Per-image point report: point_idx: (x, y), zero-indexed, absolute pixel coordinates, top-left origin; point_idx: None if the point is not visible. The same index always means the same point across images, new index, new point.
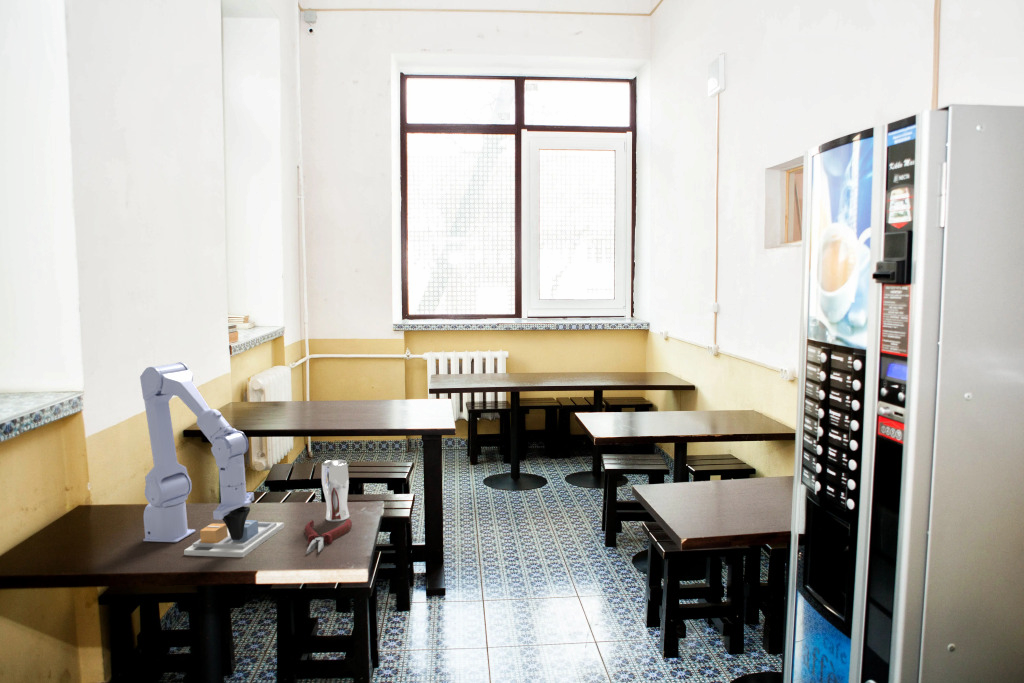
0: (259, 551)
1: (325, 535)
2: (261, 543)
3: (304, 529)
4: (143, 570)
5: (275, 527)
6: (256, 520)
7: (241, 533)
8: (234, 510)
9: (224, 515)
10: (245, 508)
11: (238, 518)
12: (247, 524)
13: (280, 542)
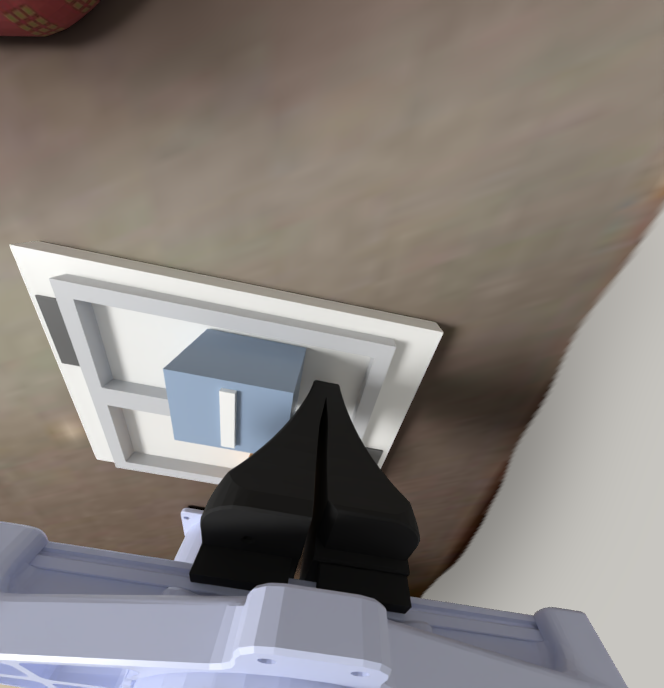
0: (374, 267)
1: None
2: (273, 289)
3: (41, 17)
4: (451, 530)
5: (95, 270)
6: (165, 374)
7: (327, 396)
8: (363, 591)
9: (485, 615)
10: (257, 529)
11: (402, 496)
12: (242, 402)
13: (251, 185)
